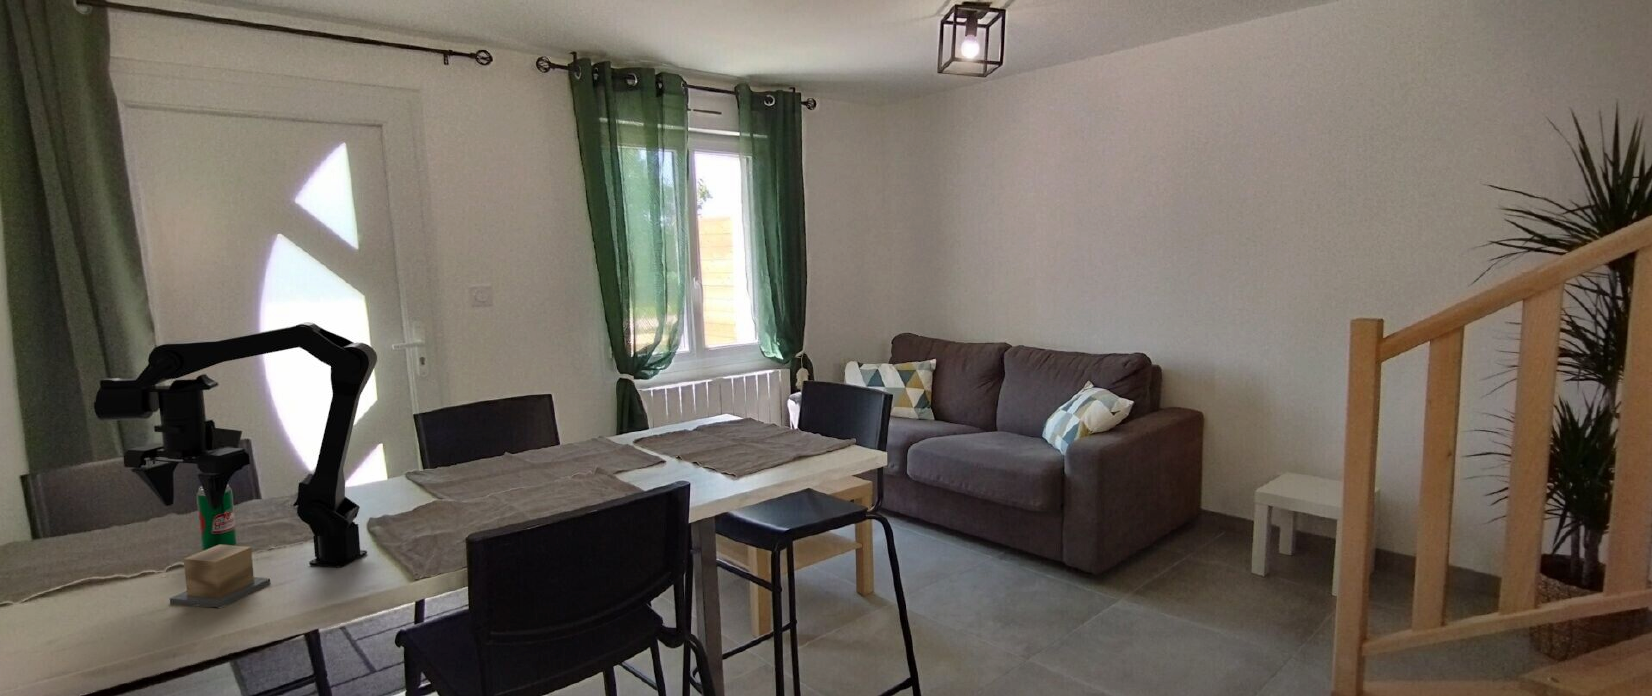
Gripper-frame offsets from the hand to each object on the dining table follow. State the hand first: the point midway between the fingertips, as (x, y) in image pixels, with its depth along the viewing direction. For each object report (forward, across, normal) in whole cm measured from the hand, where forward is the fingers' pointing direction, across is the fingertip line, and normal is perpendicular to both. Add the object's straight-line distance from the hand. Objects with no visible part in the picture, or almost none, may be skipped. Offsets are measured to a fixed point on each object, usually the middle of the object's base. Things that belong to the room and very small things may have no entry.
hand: (192, 507), depth 127 cm
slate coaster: (+12, -10, +5) cm, 16 cm away
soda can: (+12, +7, -10) cm, 17 cm away
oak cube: (+11, -10, +5) cm, 16 cm away
